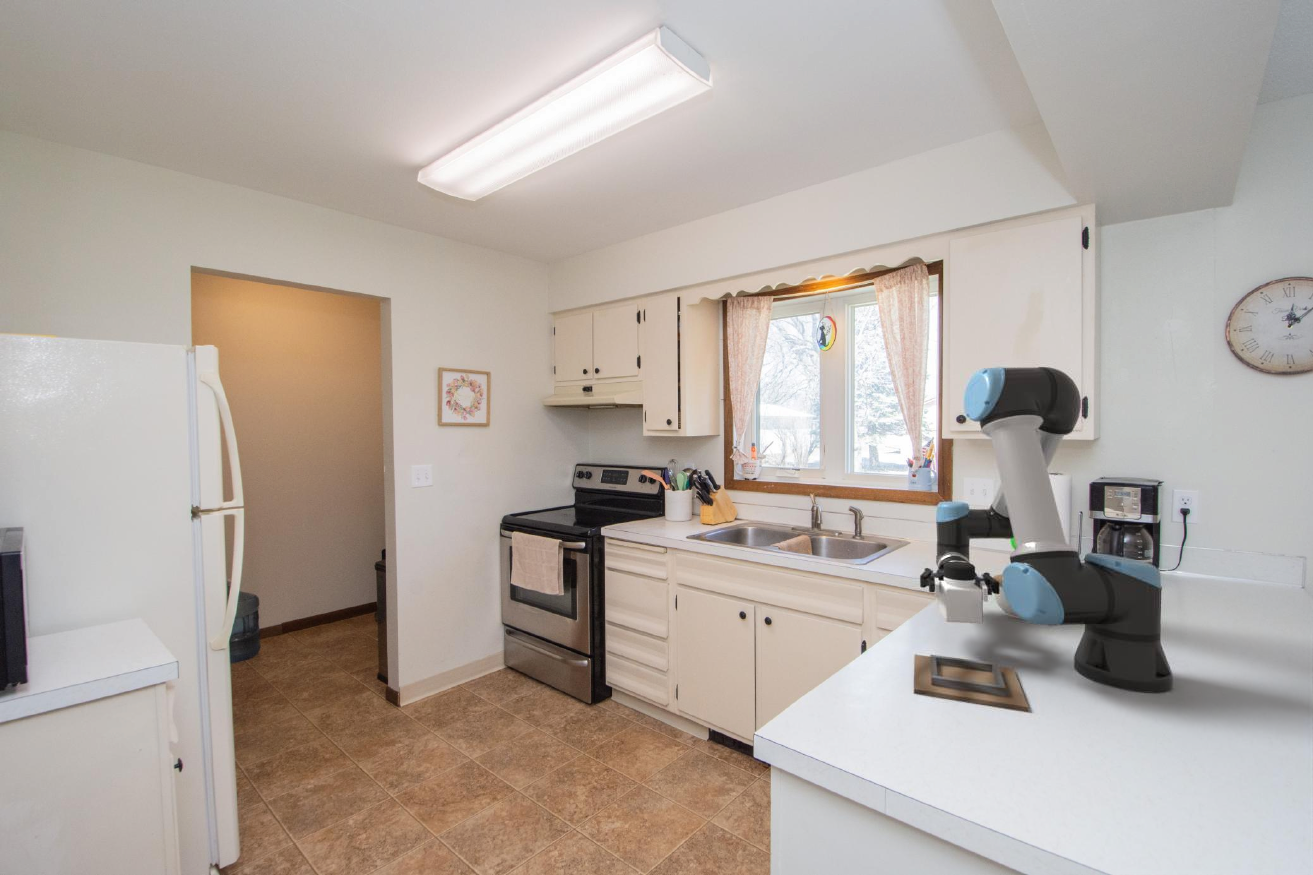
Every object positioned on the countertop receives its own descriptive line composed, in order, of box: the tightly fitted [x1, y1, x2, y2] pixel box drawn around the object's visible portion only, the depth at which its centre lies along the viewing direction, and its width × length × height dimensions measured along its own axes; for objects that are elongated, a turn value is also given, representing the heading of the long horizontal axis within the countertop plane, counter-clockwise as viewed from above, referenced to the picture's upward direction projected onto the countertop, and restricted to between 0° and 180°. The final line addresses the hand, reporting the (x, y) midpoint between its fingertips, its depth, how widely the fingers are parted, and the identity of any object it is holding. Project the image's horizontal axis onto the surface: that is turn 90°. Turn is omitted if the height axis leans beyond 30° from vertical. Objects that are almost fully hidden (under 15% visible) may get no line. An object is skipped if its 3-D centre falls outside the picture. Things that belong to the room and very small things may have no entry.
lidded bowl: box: [992, 573, 1023, 620], centre depth 153 cm, size 13×13×11 cm
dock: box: [913, 654, 1029, 713], centre depth 113 cm, size 18×18×2 cm
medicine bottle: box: [937, 561, 984, 625], centre depth 126 cm, size 7×7×12 cm
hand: (961, 592), depth 122 cm, fingers closed on medicine bottle, 8 cm apart
